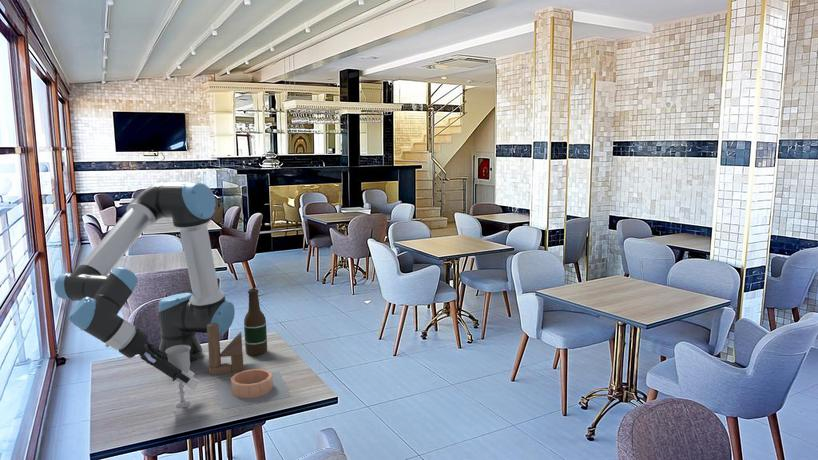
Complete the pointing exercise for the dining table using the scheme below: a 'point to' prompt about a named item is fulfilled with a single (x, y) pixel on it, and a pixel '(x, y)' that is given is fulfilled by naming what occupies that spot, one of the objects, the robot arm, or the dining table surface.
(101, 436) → the dining table surface
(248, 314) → the beer bottle
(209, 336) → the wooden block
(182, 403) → the chalice
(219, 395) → the slate board
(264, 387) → the ceramic collar
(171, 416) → the dining table surface
